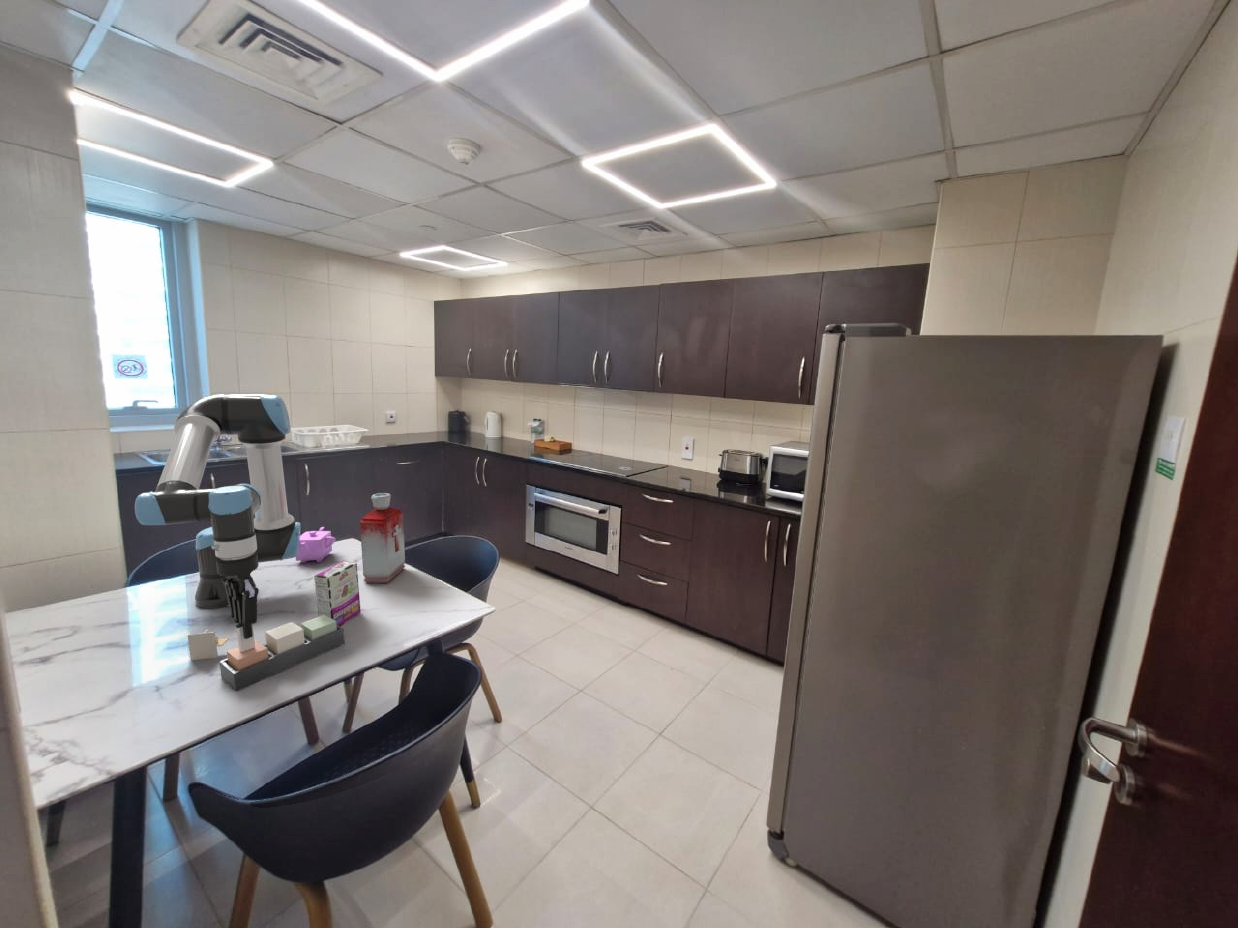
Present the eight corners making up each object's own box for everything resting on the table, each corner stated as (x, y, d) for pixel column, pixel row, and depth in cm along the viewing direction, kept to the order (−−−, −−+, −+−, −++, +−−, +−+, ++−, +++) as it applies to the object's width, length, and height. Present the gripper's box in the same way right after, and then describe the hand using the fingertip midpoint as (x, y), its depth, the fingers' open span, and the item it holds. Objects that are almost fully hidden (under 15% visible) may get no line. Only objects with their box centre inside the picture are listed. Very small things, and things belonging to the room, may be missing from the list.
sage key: (302, 640, 129) (300, 623, 128) (325, 631, 134) (324, 614, 133) (313, 648, 125) (312, 630, 124) (337, 638, 130) (336, 621, 129)
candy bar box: (346, 610, 149) (343, 560, 146) (361, 613, 148) (358, 562, 145) (317, 629, 138) (313, 574, 135) (332, 631, 137) (328, 577, 134)
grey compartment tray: (221, 678, 115) (219, 661, 114) (329, 634, 135) (328, 619, 135) (236, 691, 111) (233, 673, 110) (344, 643, 131) (343, 628, 130)
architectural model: (197, 654, 125) (194, 627, 123) (229, 650, 127) (226, 624, 125) (190, 662, 122) (186, 635, 120) (223, 658, 124) (220, 631, 122)
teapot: (287, 558, 186) (284, 531, 184) (325, 549, 197) (323, 523, 195) (303, 569, 177) (300, 540, 175) (341, 559, 188) (340, 532, 186)
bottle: (389, 584, 167) (385, 500, 162) (360, 583, 167) (355, 499, 162) (408, 568, 181) (405, 490, 176) (381, 567, 182) (376, 489, 176)
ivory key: (267, 650, 122) (265, 631, 121) (293, 639, 127) (291, 621, 126) (278, 658, 118) (276, 639, 118) (304, 647, 123) (303, 629, 123)
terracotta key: (229, 670, 115) (226, 651, 114) (258, 658, 120) (256, 640, 119) (240, 679, 112) (237, 659, 111) (269, 667, 117) (267, 648, 116)
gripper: (204, 552, 111) (216, 646, 115) (228, 566, 104) (240, 665, 109) (243, 543, 117) (253, 633, 122) (268, 556, 111) (277, 650, 115)
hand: (247, 648), depth 115 cm, fingers closed
